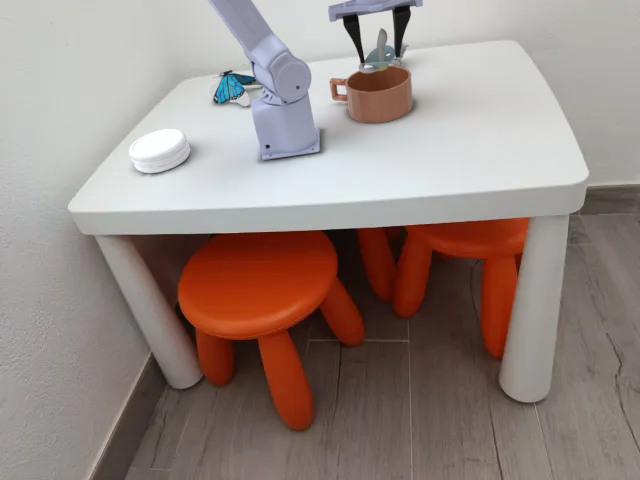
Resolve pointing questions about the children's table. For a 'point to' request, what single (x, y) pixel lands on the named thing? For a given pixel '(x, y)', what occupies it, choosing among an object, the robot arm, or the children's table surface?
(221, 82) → the decorative butterfly
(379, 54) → the pacifier
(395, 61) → the soldier figure
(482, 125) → the children's table surface
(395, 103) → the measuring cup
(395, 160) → the children's table surface
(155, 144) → the white round disc
